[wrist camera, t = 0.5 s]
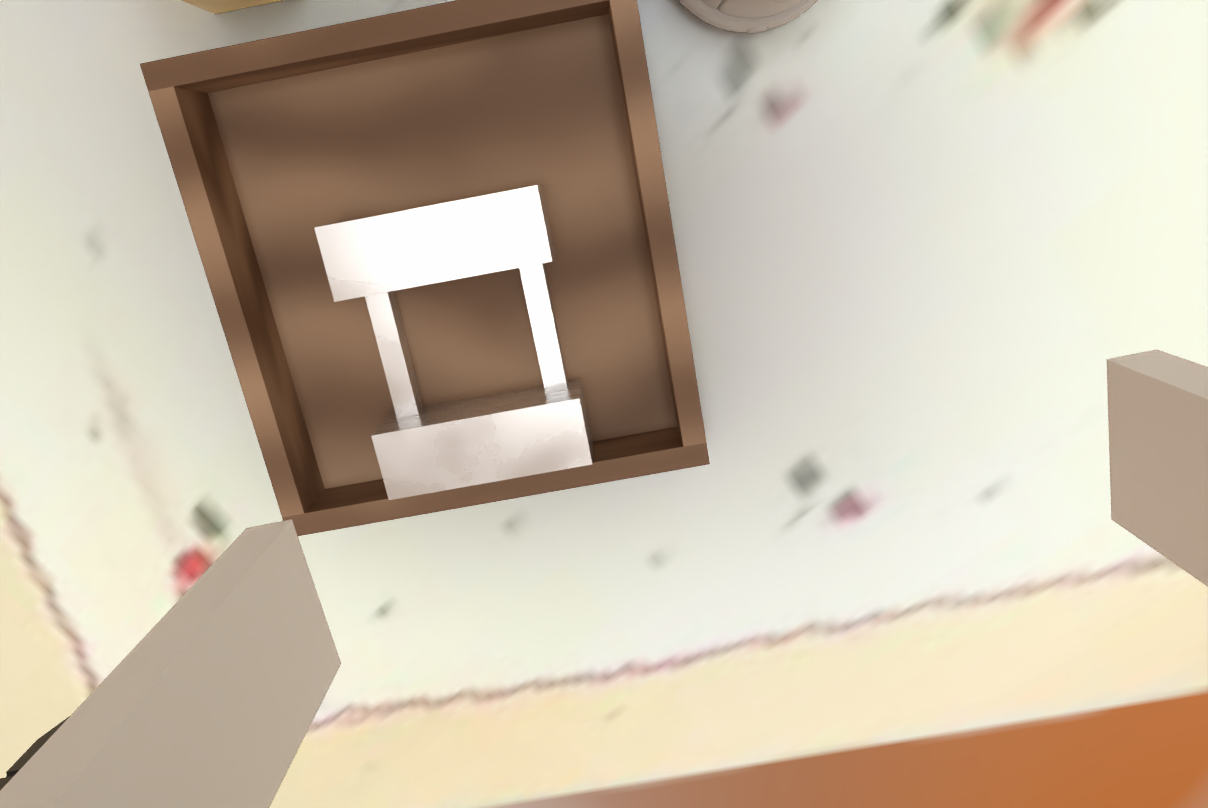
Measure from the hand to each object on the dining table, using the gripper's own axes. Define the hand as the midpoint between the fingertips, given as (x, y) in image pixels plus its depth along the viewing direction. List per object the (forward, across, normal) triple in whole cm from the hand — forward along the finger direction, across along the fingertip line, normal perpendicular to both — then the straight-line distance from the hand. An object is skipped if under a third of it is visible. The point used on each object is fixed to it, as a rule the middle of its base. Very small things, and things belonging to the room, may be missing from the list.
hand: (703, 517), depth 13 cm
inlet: (+25, -8, -1) cm, 26 cm away
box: (+25, -8, +2) cm, 26 cm away
